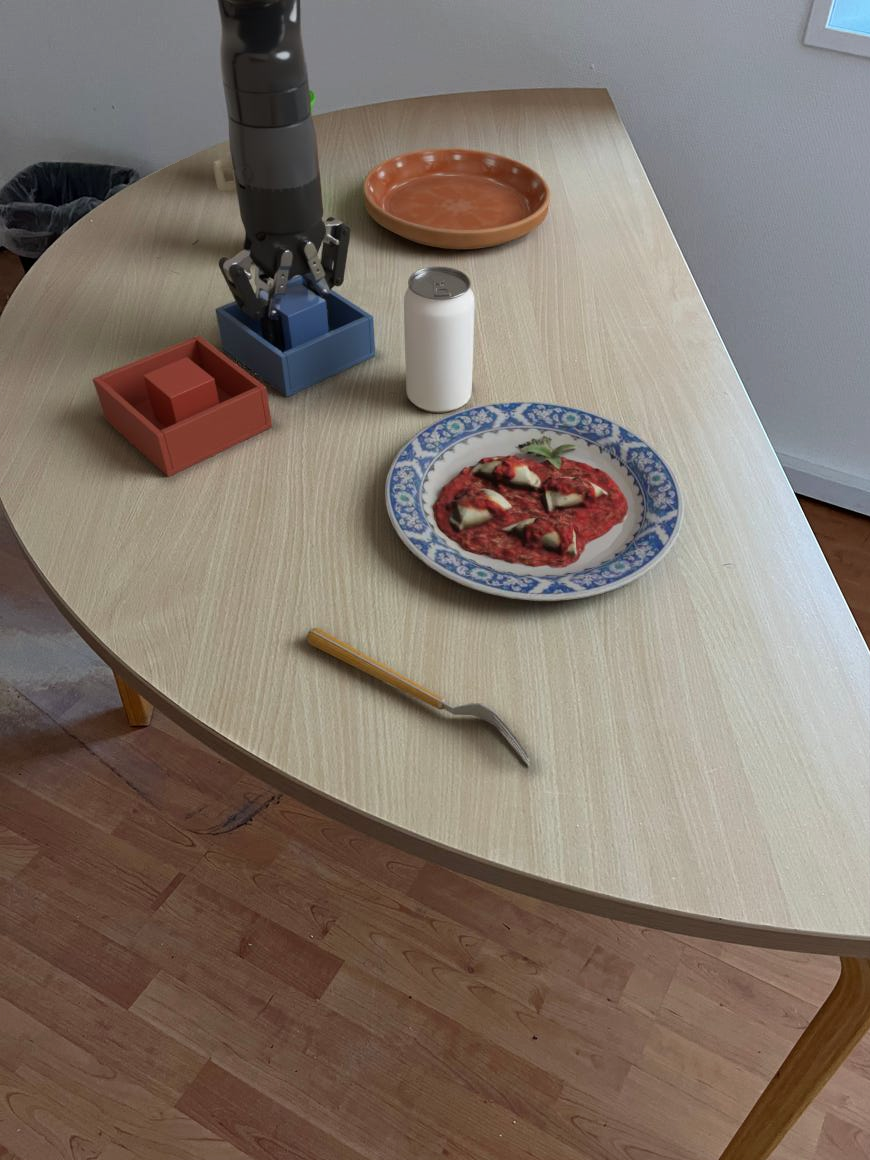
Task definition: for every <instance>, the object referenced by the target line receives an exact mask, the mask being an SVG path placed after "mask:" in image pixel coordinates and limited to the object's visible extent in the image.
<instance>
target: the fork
mask: <svg viewBox="0 0 870 1160" xmlns="http://www.w3.org/2000/svg"><path fill="white" fill-rule="evenodd" d="M306 640H307V642H308V644H310V645H311V646H312V647H315V648H316V649H318V650H321V651H322V652H325V653H326V654H328V655H330V656H332V657H335V658H336V659H339V660H341V661H343V663H346V664H349V665H350V666H352V667H355V668H356V669H359V670H360V671H362V672H364V673H366V674H368V675H370V676H372V677H374V678H376V679H378V680H380V681H382V682H383V683H385V684H388V685H390V686H392V687H394V688H396V689H397V690H400V691H401V692H404V693H405V694H408V695H410V696H412V697H414V698H415V699H418V700H419V701H422V702H423V703H425V704H427V705H429V706H431V707H434V708H436V709H437V710H440V711H442V710H444V711H447V712H449V713H450V714H452V715H456V716H473V717H475V718H478V719H481V720H484V721H485V722H487V723H488V724H491V725H493V727H496V728H497V729H499V730H500V731H501V733H503V734H504V735H505V736H506V737H507V739H509V740H510V742H511V743H512V744H513V745H514V747H515V748H516V749H517V750H518V751H519V753H520V754H521V756H522V757H523V759H524V761H525V762H526V764H527V765H528V767H531V765H530V761H529V755H528V753H527V752H526V751H525V749H524V748H523V746H522V744H521V743H520V741H519V740H518V738H517V737H516V735H515V734H514V733H513V732H512V731H511V729H510V728H509V727H508V726H507V725H506V723H505V722H504V720H503V719H502V718H501V717H500V715H499V714H498V712H496V711H495V710H494V709H493V708H492V707H490V706H488V705H486V704H484V703H481V702H476V703H474V702H472V703H466V704H460V705H456V706H453V705H450V704H449V703H447V701H446V699H445V698H443V697H441V696H440V695H438V694H436V693H434V692H433V691H431V690H429V689H427V688H426V687H424V686H422V685H421V684H419V683H417V682H415V681H413V680H412V679H409V678H408V677H406V676H404V675H403V674H401V673H399V672H398V671H395V670H394V669H392V668H390V667H388V666H386V665H384V663H381V662H380V661H377V660H376V659H374V658H372V657H370V656H369V655H367V654H365V653H363V652H362V651H360V650H359V649H356V648H355V647H353V646H351V645H349V644H348V643H345V642H344V641H342V640H340V639H338V638H336V637H335V636H333V635H332V634H330V633H328V632H326V631H324V630H322V629H321V628H317V627H314V628H311V629H310V630H308V633H307V635H306Z"/></svg>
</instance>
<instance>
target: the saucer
mask: <svg viewBox="0 0 870 1160" xmlns="http://www.w3.org/2000/svg"><path fill="white" fill-rule="evenodd" d="M362 185H363V187H362V191H363V193H362V194H363V202H364V206H365V209H366V211H367V213H368V215H370V217H371V218H372V219H373V220H374V221H375V222H376V223H378V224H379V225H380V226H381V227H383V228H385V229H387V230H389V231H390V232H392V233H394V234H396V235H398V236H400V237H402V238H404V239H406V240H409V241H412V242H413V243H416V244H421V245H425V246H429V247H434V248H439V249H449V250H475V249H484V248H489V247H496V246H500V245H503V244H506V243H509V242H511V241H513V240H515V239H518V238H520V237H523V236H524V235H527V234H528V233H530V232H532V231H534V230H535V229H536V228H538V227H539V226H540V225H541V224H542V223H543V222H544V221H545V220H546V218H547V216H548V212H549V207H550V203H551V201H550V200H551V190H550V187H549V185H548V183H547V181H546V180H545V179H544V178H543V176H541V175H540V173H538V172H537V170H536V171H535V170H534V169H533V168H531V167H529V166H528V165H526V164H525V163H522V162H520V161H519V160H516V159H513V158H511V157H507V156H504V155H502V154H501V155H500V154H498V153H493V152H490V151H483V150H478V149H472V148H471V149H469V148H457V147H443V148H442V147H441V148H428V149H419V150H413V151H408V152H404V153H402V154H398V155H395V156H392V157H390V158H388V159H386V160H383V161H381V162H380V163H378V164H377V165H375V166H374V167H373V168H372V169H371V170H370V171H369V172H368V173H367V174H366V176H365V178H364V181H363V184H362Z"/></svg>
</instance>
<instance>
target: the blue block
mask: <svg viewBox="0 0 870 1160" xmlns="http://www.w3.org/2000/svg"><path fill="white" fill-rule="evenodd" d="M279 316H280V317H281V319H282V327H283V334H284V341H285V349H283V351H288V350H290V349H292V348H294V347H297V346H299V345H301V344H303V343H306V342H308V341H310V340H313V339H315V338H317V337H319V336H322V335H324V334H326V333H328V332H329V328H328V318H327V308H326V300H324V299H323V298H321V297H320V296H318V295H317V294H315V293H314V292H312V291H311V290H309V289H307V288H306V287H304V286H303V285H301V284H300V283H295V284H293V285H290V286H288V287H286V294H285V296H283V297H282V298H281V305H280V312H279Z"/></svg>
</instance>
